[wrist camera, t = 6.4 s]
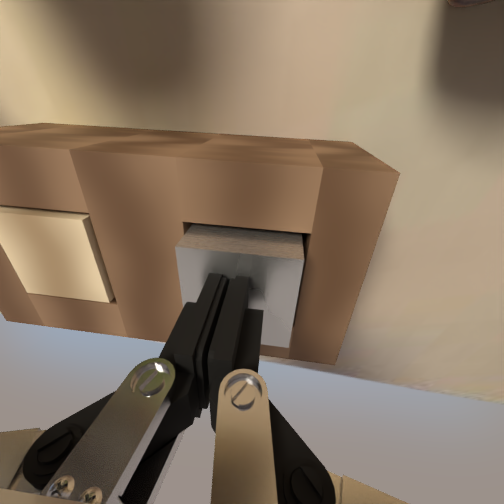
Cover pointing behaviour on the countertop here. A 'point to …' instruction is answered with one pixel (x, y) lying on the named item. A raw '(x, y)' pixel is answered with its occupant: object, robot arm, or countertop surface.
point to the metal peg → (246, 270)
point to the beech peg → (55, 253)
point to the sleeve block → (195, 219)
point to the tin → (466, 2)
